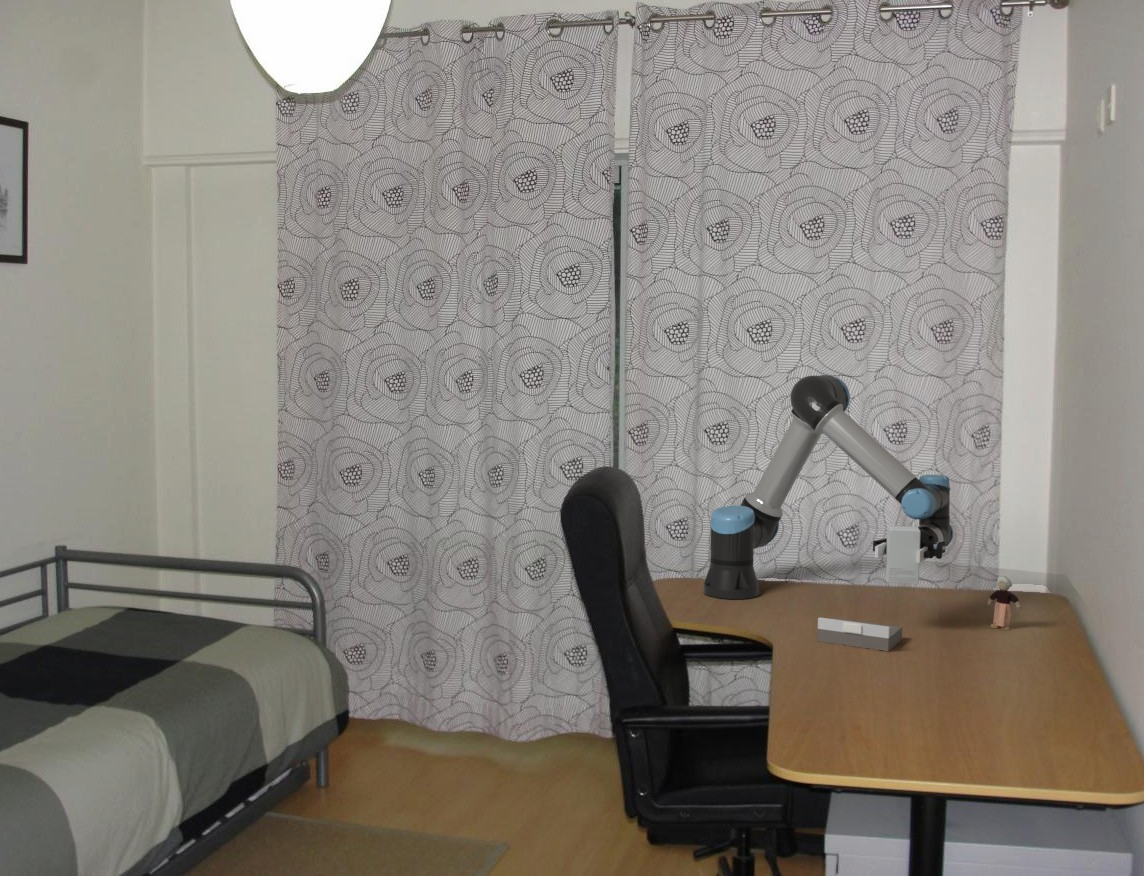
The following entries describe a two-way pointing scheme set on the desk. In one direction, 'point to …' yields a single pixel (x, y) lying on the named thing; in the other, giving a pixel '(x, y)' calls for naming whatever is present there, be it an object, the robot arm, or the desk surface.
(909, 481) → the robot arm
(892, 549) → the supplement box
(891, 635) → the shelf board
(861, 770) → the desk surface
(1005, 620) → the grandmother figurine
